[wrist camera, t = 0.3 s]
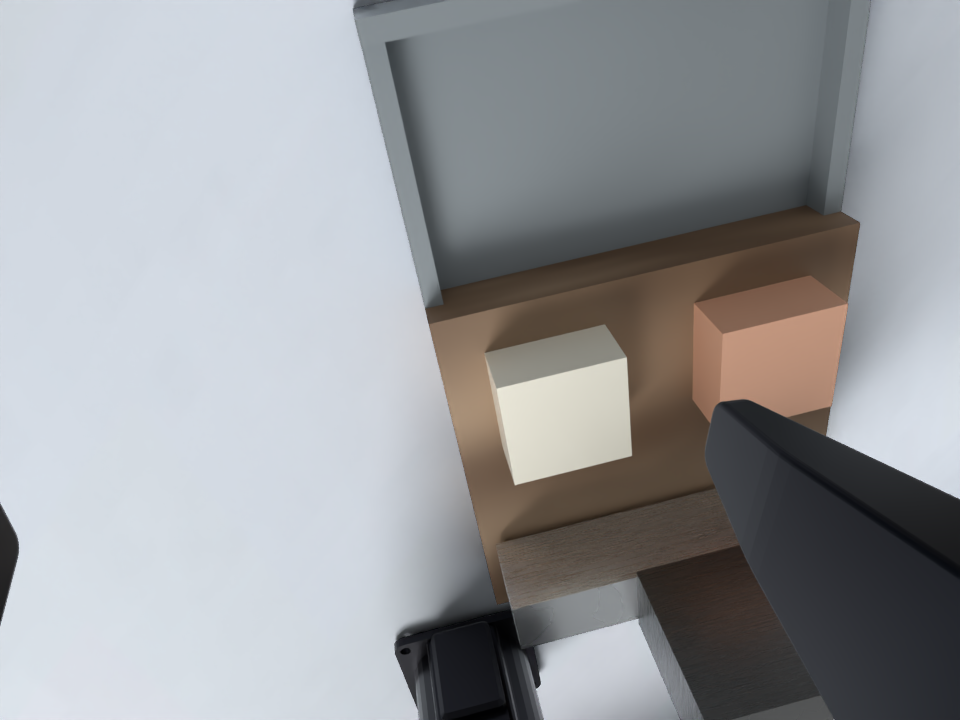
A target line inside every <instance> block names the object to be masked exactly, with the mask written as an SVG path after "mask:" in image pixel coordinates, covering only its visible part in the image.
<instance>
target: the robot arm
mask: <svg viewBox="0 0 960 720" xmlns="http://www.w3.org/2000/svg"><path fill="white" fill-rule="evenodd" d="M705 461H706V466H707V468H708V471H709V473H710V476H711V478H712V480H713V483H714V485H715V488H716V490H717V492H718V495H719V497H720V499H721V502H722V504H723V507H724V509H725V511H726V514H727V516H728V518H729V521H730V523H731V526H732V528H733V530H734V533H735V535H736V537H737V540H738V542H739V545H740V547H741V549H742V551H743V554H744V556H745V558H746V560H747V562H748V564H749V566H750V568H751V570H752V572H753V574H754V576H755V578H756V580H757V581H758V583H759V585H760V587H761V589H762V590H763V592H764V594H765V596H766V598H767V599H768V601H769V603H770V605H771V607H772V608H773V610H774V612H775V614H776V616H777V617H778V619H779V621H780V623H781V625H782V626H783V628H784V630H785V632H786V634H787V635H788V637H789V639H790V641H791V643H792V644H793V646H794V648H795V650H796V652H797V653H798V655H799V657H800V659H801V661H802V662H803V664H804V666H805V668H806V670H807V671H808V673H809V675H810V677H811V679H812V680H813V682H814V684H815V686H816V688H817V689H818V691H819V693H820V695H821V697H822V698H823V700H824V702H825V704H826V706H827V707H828V709H829V711H830V713H831V715H832V716H833V718H834V720H960V499H958V498H956V497H954V496H952V495H950V494H948V493H945V492H943V491H941V490H939V489H937V488H935V487H933V486H931V485H928V484H926V483H924V482H922V481H920V480H918V479H916V478H914V477H912V476H909V475H907V474H905V473H903V472H901V471H899V470H897V469H895V468H892V467H890V466H888V465H886V464H884V463H882V462H880V461H878V460H876V459H873V458H871V457H869V456H867V455H865V454H863V453H861V452H859V451H856V450H854V449H852V448H850V447H848V446H846V445H844V444H842V443H840V442H837V441H835V440H833V439H831V438H829V437H827V436H825V435H823V434H820V433H818V432H816V431H814V430H812V429H810V428H808V427H806V426H804V425H801V424H799V423H797V422H795V421H793V420H791V419H789V418H787V417H785V416H782V415H780V414H778V413H776V412H774V411H772V410H770V409H768V408H765V407H763V406H761V405H759V404H757V403H755V402H753V401H751V400H747V399H739V400H731V401H722V402H720V403H718V404H717V405H716V406H715V408H714V410H713V413H712V418H711V422H710V427H709V432H708V436H707V441H706V446H705ZM18 554H19V542H18V538H17V535H16V532H15V531H14V529H13V527H12V525H11V523H10V521H9V519H8V517H7V515H6V513H5V511H4V509H3V507H2V505H1V504H0V625H1V621H2V617H3V613H4V609H5V606H6V602H7V598H8V594H9V590H10V586H11V582H12V579H13V575H14V571H15V567H16V563H17V559H18ZM395 655H396V657H397V660H398V662H399V665H400V667H401V670H402V672H403V674H404V677H405V679H406V682H407V684H408V687H409V689H410V692H411V694H412V697H413V699H414V701H415V704H416V706H417V709H418V715H419V720H544V718H543V715H542V711H541V707H540V703H539V699H538V695H537V691H536V688H538V687H539V686H540V685H541V681H540V676H539V671H538V666H537V661H536V657H535V652H534V647H533V646H532V647H529V648H525V649H521V646H520V642H519V638H518V635H517V631H516V627H515V623H514V619H513V615H512V611H511V610H508V611H504V612H500V613H496V614H493V615H489V616H485V617H481V618H477V619H473V620H470V621H466V622H462V623H458V624H454V625H450V626H446V627H443V628H439V629H435V630H431V631H427V632H423V633H420V634H416V635H412V636H408V637H404V638H401V639H399V640H397V641H396V642H395Z"/></svg>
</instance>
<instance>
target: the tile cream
mask: <svg viewBox="0 0 960 720" xmlns="http://www.w3.org/2000/svg"><path fill="white" fill-rule="evenodd" d="M484 354H485V359H486V364H487V369H488V375H489V380H490V385H491V390H492V395H493V400H494V405H495V411H496V416H497V421H498V426H499V431H500V436H501V441H502V446H503V450H504V453H505V456H506V459H507V462H508V465H509V469H510V472H511V475H512V478H513V481H514V484H515V485H518V484H522V483H526V482H530V481H534V480H538V479H542V478H546V477H550V476H554V475H558V474H562V473H566V472H570V471H574V470H578V469H582V468H586V467H590V466H594V465H598V464H602V463H606V462H610V461H614V460H618V459H622V458H626V457H630V456H632V447H631V428H630V409H629V390H628V370H627V357H626V355H625V354H624V352H623V351H622V349H621V348H620V346H619V345H618V343H617V342H616V340H615V339H614V337H613V336H612V334H611V333H610V331H609V330H608V328H607V327H606V325H605V324H604V325H600V326H596V327H592V328H587V329H583V330H579V331H575V332H571V333H566V334H562V335H558V336H554V337H550V338H545V339H541V340H537V341H533V342H529V343H524V344H520V345H516V346H512V347H508V348H503V349H499V350H495V351H491V352H487V353H484Z"/></svg>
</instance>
